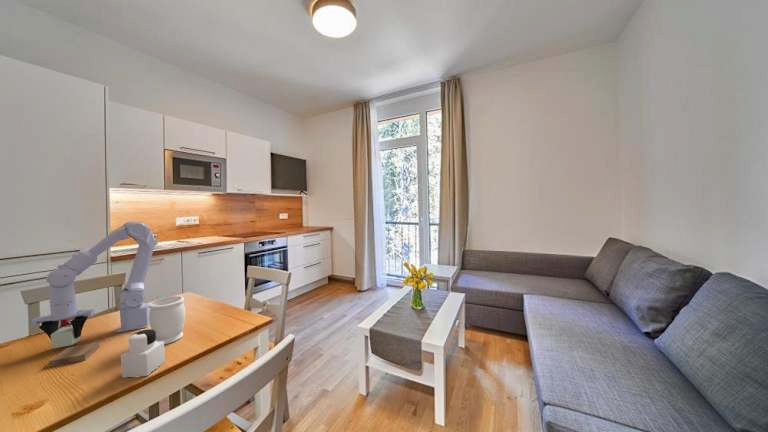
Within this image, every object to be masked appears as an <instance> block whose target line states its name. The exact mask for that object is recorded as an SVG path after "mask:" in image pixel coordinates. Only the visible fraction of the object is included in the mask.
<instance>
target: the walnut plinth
mask: <svg viewBox="0 0 768 432" xmlns="http://www.w3.org/2000/svg"><path fill="white" fill-rule="evenodd" d="M98 349H100V343H99V342H92V343H87V344H82V345H76V346H69V347H66V348H65V349H64V350H62V351H61V352H59V353H58V354H57V355H55V356H54V357H53V358H52V359H50V360H49V361H48V365H49V367H48V368H53V367H58V366H63V365H68V364H69V365H70V364H73V363H78V362H83V361H86V360H88V358H89V357H91V356H92V355H93V354H94V353H95V352H96V351H97V350H98Z"/></svg>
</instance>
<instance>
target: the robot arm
mask: <svg viewBox="0 0 768 432" xmlns="http://www.w3.org/2000/svg"><path fill="white" fill-rule="evenodd" d="M154 237H155V236H154V235H153V232H152V228H150V227H149V226H148V225H147V224H146V223H144V222H139V221H135V220H134V221H133V220H131V221H127V222H125V223H124V224H123V225H122V226H119V227H117V228H116V229H114V230H113V231H112V232H110V233H109V234H108V235H106V236H105V237H103V238H102V239H101V240H100V241H99V242H97V243H96V244H95V245H94V246H93V247H91V248H90V249H89V250H86V251H83V250H82V251H79V252H78V253H76V252H75V253H73V254H72V255H71V258H70V259H68V260H66V261H65V262H64V263H63V264H59V265H58V266H56V268H57V269H54V270H51V271H50V272H49V273H48V274H47V276H46V278H45V280H46V282H47V283H48V285H49V286H48V290H49V292H48V298H49V309H50V314H47V315H43V316H37V317H35V318H33V319H32V320H31V325H32V326H36V325H39V324H41V325H39V326H38V327H39V329H40V330H41V331H42V332H43V333H45V334H46V335H47V336H48V338H49V339H50V340H51V334H52V333H54V332H56V331H57V330H59V327H58V325H59V320H65V319H72V318H75V319H74V320H72V321H71V324H72V326H73V330H74V337H75V338H78V337H79V336H81V337H82V331H83V328H84V325H85V323H86V322H87V319H88V318H89V317H93V316H94V315H95V309H94V308H93V309H81V310H80V309H79V310H78V309H77V301H76V300H77V299H76V290H75V288H76V287H74V282H75V280H76V277H77V276H79V275H81V274H82V273H84V271H86V270H87V269H89V268H90V267H91V266H93V265H94V264H95V263H96V262H97V261H98V256H99V255H101V254H102V253H104V252H105V251H106V250H108V249H109V248H111V247H113V245H115V244H117V243H118V242H120V241H124V240H130V238H131V239H133V241H135V242H136V243H137V244H138V247H137V250H136V254H135V256H134V260H133V264H132V267H131V268H130V273H129V275H128V279H127V281H126V283H125V284H124V287H123V288H122V290H121V291H120V292H119V293H118V295H117V299H118V301H119V302H120V303H121V305H120V306H119V315H120V316H119V319H120V328H119V327H118V329H117V330H116V331H115V333H122V332H128V331H133V330H139V329H145V328H148V326H149V325H150V321H149V316H150V310H151V309H150V308H149V304H150V303H151V302H150V303H149V302H148V303H145V297H146V296H145V294H144V292H145V285H144V284H145V280H146V277H147V273H148V270H149V267H150V263H151V259H152V257H153V252H154V249H155V248H156V247H155V246H156V239H155V238H154Z"/></svg>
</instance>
